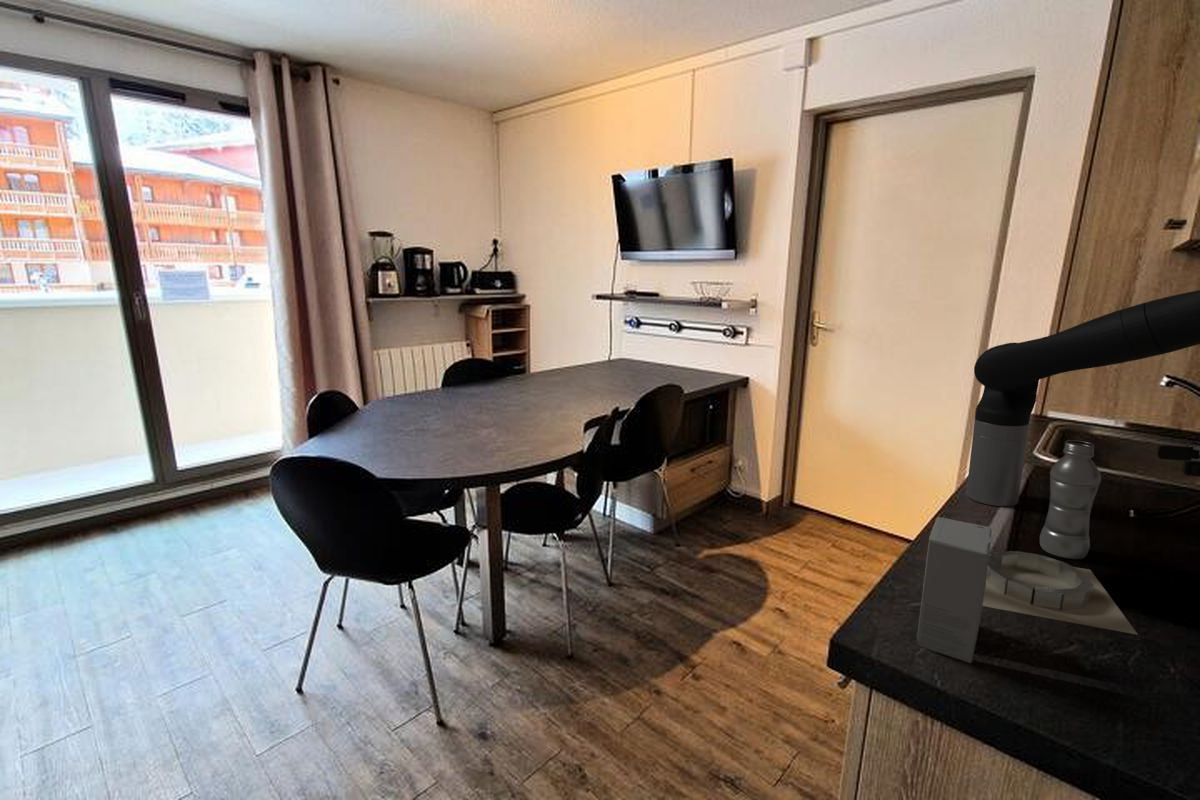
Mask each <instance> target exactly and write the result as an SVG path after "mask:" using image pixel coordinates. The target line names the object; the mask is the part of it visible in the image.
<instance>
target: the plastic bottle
mask: <svg viewBox="0 0 1200 800" xmlns="http://www.w3.org/2000/svg"><path fill="white" fill-rule="evenodd" d="M1094 449H1095V444H1093V443H1091V442H1088V441H1083V440H1075V439H1073V440H1072V439H1068V440H1066V441H1065V442H1064V448H1063V451H1062V453H1063V454H1064V456H1062V457H1061V458H1059V459H1058V460H1057V461H1056V462H1055V463H1054V464H1053V465H1052V467H1051V469H1050V471H1049V483H1050V485H1049V486H1050V494H1049V495H1050V496H1049V505H1048V511H1047V514H1046V519H1045V523H1044V525H1043V527H1042V528H1041V532H1040V535H1039V545H1040V547H1041V548H1042V550H1043V551H1045V552H1046V553H1048V554H1051V555H1053V556H1056V557H1059V558H1064V559H1069V560H1082V559H1084V558H1085V557H1087V555H1088V553H1089V550H1090V547H1091V545H1090V543H1091V542H1090V541H1091V540H1090V534H1089V533H1090V516H1091V512H1092V510H1091V509H1093V504H1094V500H1095V498H1096V495H1097V492H1098V489H1099V487H1100V484H1101V481H1102V476H1101V472H1100V470H1099V469H1098V466H1097V465H1096V464H1095V463H1094V462H1093V460H1092V458H1094V456H1095V453H1094V451H1095V450H1094Z"/></svg>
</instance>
